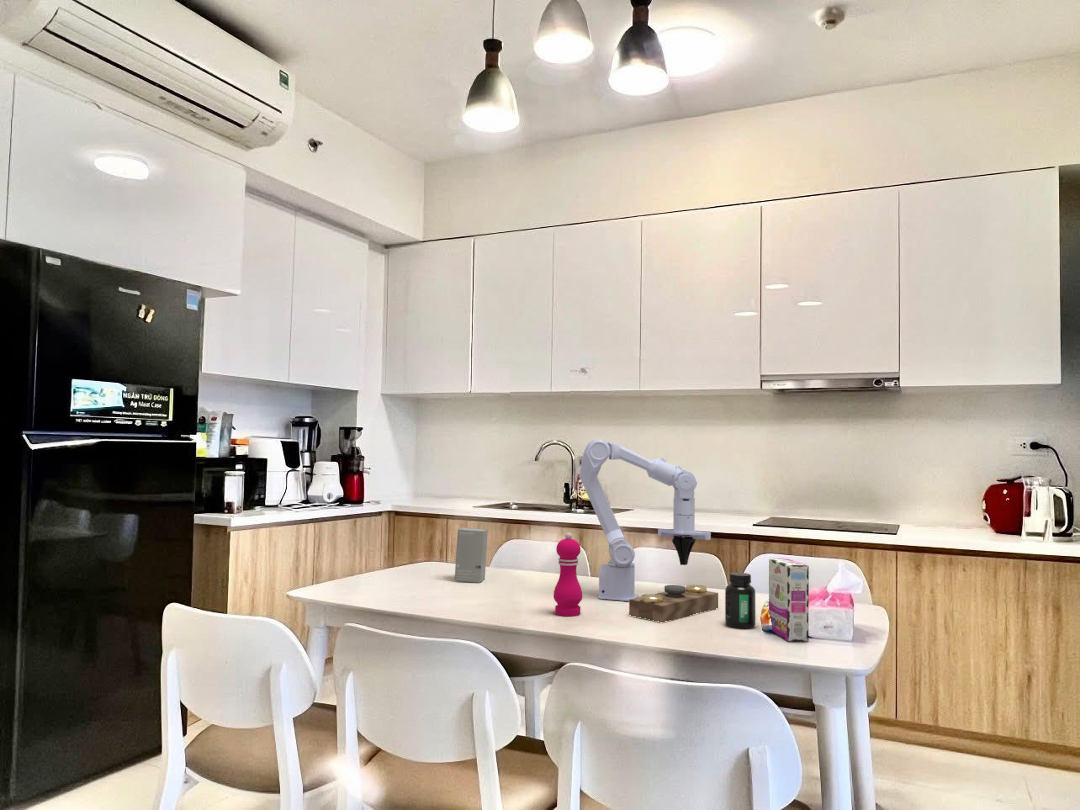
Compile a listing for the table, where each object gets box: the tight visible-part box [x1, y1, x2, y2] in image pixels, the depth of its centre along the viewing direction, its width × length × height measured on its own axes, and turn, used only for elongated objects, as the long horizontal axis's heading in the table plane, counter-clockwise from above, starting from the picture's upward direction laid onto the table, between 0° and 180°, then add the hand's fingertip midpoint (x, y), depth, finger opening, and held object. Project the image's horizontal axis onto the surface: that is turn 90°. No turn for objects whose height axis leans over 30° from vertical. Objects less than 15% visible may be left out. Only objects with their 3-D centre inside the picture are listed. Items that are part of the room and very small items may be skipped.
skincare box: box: [454, 527, 489, 584], centre depth 230 cm, size 8×7×16 cm
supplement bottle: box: [724, 572, 757, 630], centre depth 176 cm, size 7×7×12 cm
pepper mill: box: [553, 532, 584, 617], centre depth 187 cm, size 7×7×20 cm
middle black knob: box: [663, 584, 686, 598], centre depth 190 cm, size 5×5×5 cm
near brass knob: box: [640, 593, 663, 604], centre depth 183 cm, size 5×5×5 cm
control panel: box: [628, 586, 719, 623], centre depth 189 cm, size 24×10×4 cm, turn 134°
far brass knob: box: [685, 584, 708, 594], centre depth 196 cm, size 5×5×5 cm
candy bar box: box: [768, 557, 810, 643], centre depth 167 cm, size 11×5×16 cm, turn 5°
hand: (683, 564), depth 206 cm, fingers closed
